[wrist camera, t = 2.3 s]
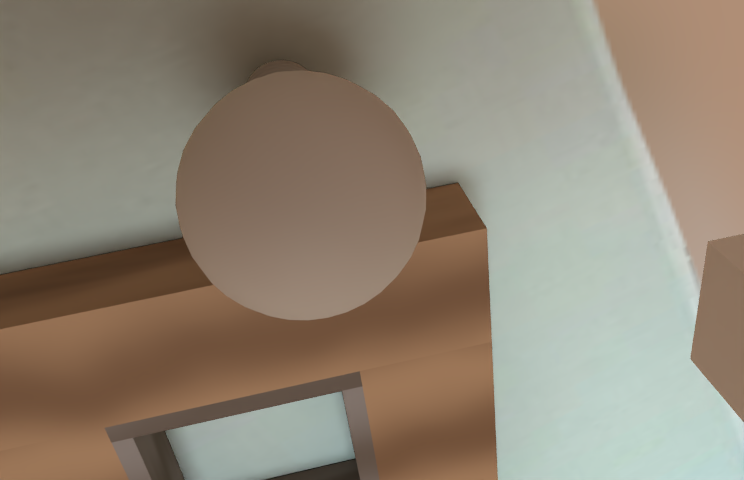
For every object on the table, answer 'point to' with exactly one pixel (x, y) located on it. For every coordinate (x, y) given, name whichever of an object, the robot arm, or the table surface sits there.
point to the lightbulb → (300, 194)
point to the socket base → (248, 362)
